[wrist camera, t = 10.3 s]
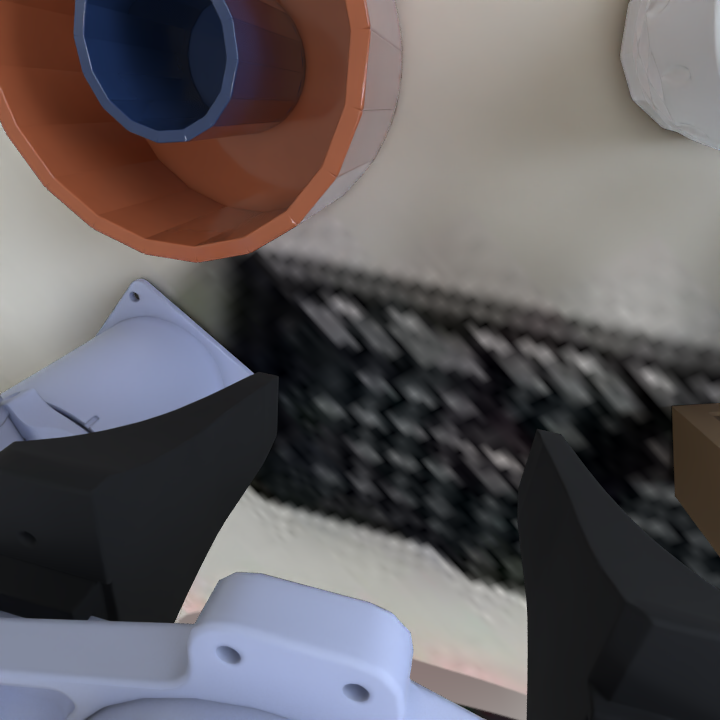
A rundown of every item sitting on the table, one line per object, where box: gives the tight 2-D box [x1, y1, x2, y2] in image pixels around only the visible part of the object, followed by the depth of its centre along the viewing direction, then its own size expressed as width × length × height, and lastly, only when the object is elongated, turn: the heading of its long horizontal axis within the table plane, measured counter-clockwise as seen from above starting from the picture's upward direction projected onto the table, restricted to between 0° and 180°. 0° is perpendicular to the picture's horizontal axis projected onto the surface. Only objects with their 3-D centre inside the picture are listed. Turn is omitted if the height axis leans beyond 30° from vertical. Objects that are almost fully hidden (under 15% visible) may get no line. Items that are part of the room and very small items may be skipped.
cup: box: [73, 0, 306, 143], centre depth 17 cm, size 5×5×6 cm
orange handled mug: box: [0, 0, 402, 263], centre depth 17 cm, size 16×12×7 cm
